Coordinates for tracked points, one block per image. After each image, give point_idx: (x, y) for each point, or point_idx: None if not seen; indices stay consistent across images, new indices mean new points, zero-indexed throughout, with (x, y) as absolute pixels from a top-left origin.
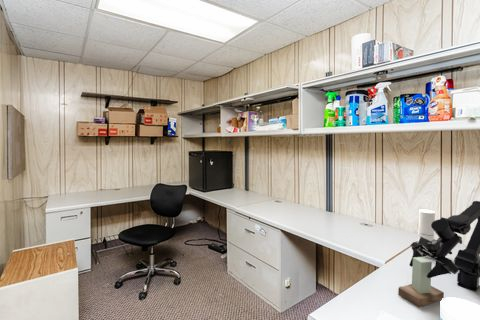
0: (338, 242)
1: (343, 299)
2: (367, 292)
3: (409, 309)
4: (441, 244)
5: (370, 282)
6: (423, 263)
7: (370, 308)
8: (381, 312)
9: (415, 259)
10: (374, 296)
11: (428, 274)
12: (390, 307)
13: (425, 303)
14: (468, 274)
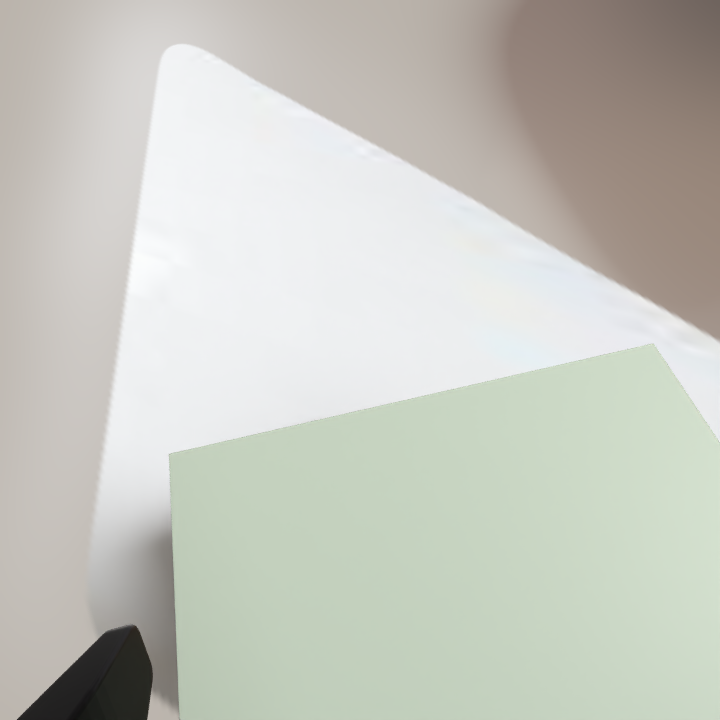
0: None
1: (290, 118)
2: (388, 233)
3: (183, 434)
4: None
5: (547, 285)
6: (194, 582)
7: (205, 208)
8: (162, 248)
9: (502, 382)
10: (342, 259)
11: (82, 671)
12: (212, 313)
13: None
14: None
